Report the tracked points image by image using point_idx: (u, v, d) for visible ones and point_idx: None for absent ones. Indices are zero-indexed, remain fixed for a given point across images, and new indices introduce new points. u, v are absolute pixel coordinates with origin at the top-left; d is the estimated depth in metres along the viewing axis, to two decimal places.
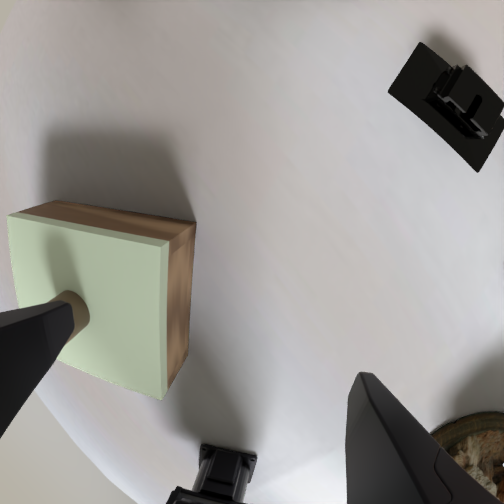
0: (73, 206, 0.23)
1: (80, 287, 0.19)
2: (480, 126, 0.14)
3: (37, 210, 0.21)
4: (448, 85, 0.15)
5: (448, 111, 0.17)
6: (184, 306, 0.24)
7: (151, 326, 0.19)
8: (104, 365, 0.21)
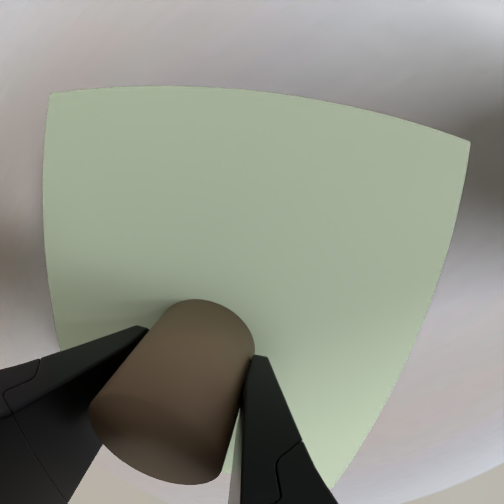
0: None
1: (143, 303, 0.09)
2: None
3: None
4: None
5: None
6: None
7: (205, 108, 0.07)
8: (371, 306, 0.08)
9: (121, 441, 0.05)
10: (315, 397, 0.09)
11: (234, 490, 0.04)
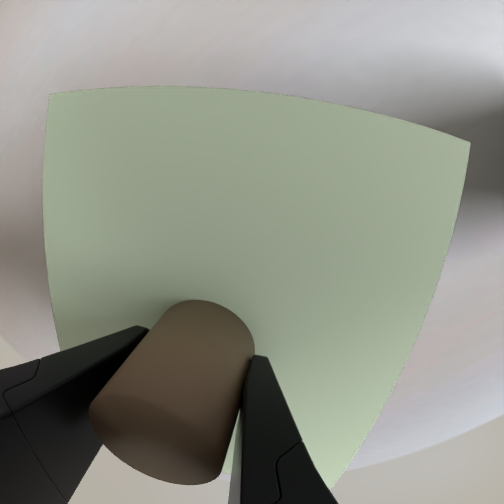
0: None
1: (143, 304, 0.09)
2: None
3: None
4: None
5: None
6: None
7: (205, 109, 0.07)
8: (371, 306, 0.08)
9: (121, 441, 0.05)
10: (315, 397, 0.09)
11: (234, 490, 0.04)
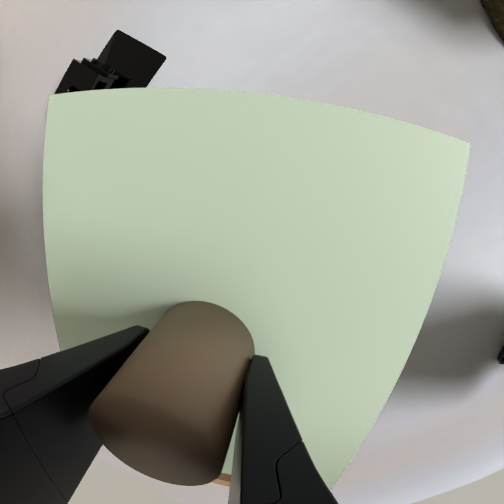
0: None
1: (144, 305, 0.09)
2: (91, 85, 0.16)
3: None
4: None
5: None
6: None
7: (205, 110, 0.07)
8: (371, 307, 0.08)
9: (121, 442, 0.06)
10: (315, 398, 0.09)
11: (234, 490, 0.04)
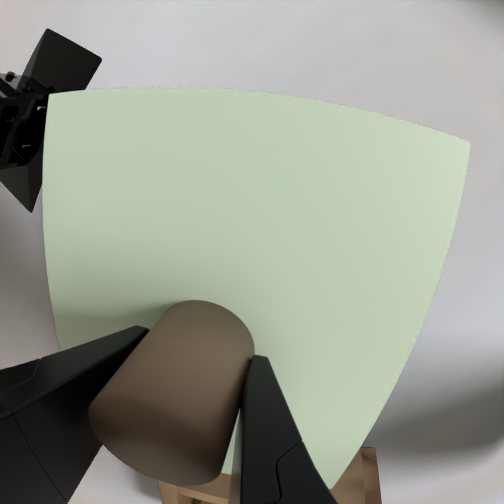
0: None
1: (143, 304, 0.09)
2: None
3: None
4: None
5: (30, 131, 0.13)
6: None
7: (205, 109, 0.07)
8: (371, 307, 0.08)
9: (121, 442, 0.05)
10: (315, 398, 0.09)
11: (234, 490, 0.04)
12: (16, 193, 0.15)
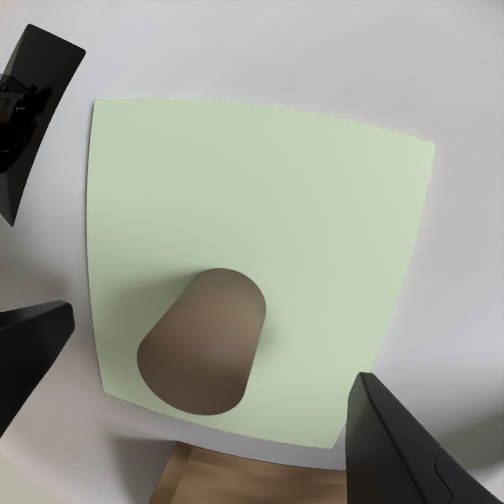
0: None
1: (175, 274, 0.11)
2: None
3: None
4: None
5: (8, 135, 0.11)
6: (282, 484, 0.13)
7: (230, 118, 0.09)
8: (358, 272, 0.10)
9: (162, 375, 0.08)
10: (315, 353, 0.11)
11: (385, 503, 0.04)
12: None
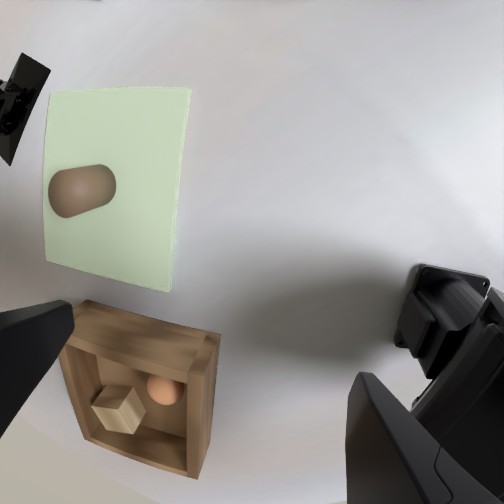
0: None
1: None
2: None
3: None
4: None
5: (11, 114, 0.19)
6: (142, 326, 0.23)
7: (101, 95, 0.18)
8: (154, 158, 0.19)
9: (56, 197, 0.17)
10: (141, 208, 0.21)
11: (385, 503, 0.04)
12: (2, 153, 0.21)
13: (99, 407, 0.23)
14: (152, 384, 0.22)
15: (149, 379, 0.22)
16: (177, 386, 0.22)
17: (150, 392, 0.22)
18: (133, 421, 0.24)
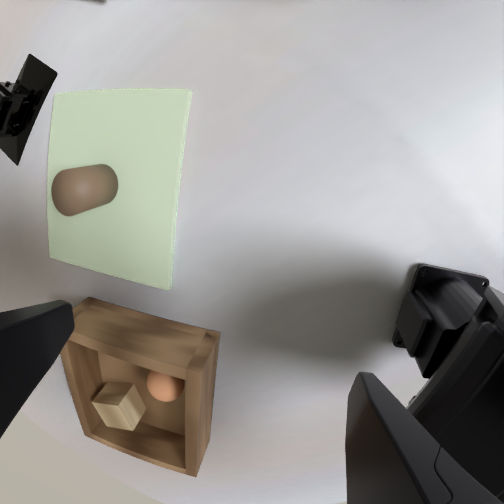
0: None
1: None
2: None
3: None
4: None
5: (19, 116, 0.20)
6: (143, 323, 0.23)
7: (103, 96, 0.19)
8: (155, 158, 0.20)
9: (59, 196, 0.17)
10: (142, 207, 0.21)
11: (385, 503, 0.04)
12: (9, 154, 0.22)
13: (100, 403, 0.23)
14: (152, 381, 0.22)
15: (149, 376, 0.23)
16: (177, 382, 0.22)
17: (149, 389, 0.22)
18: (133, 417, 0.24)
